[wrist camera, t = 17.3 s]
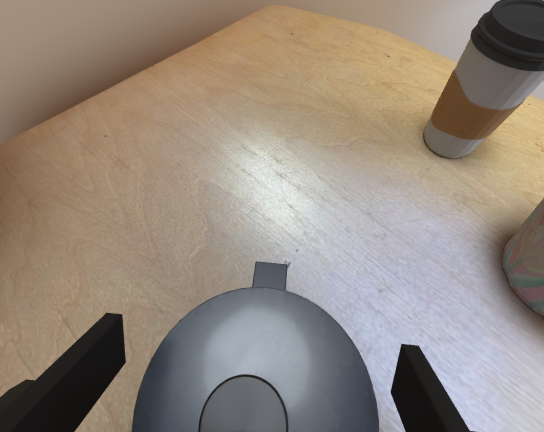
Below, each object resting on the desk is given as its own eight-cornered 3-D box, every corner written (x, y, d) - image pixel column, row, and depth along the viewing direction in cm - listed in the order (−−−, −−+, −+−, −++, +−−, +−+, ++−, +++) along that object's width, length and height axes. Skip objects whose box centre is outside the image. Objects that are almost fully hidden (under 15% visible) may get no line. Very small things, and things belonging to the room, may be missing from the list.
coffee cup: (489, 166, 36) (610, 46, 23) (422, 165, 37) (505, 44, 24) (469, 119, 41) (562, -5, 28) (408, 118, 41) (473, -7, 28)
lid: (102, 553, 14) (-136, 791, 6) (174, 282, 21) (110, 215, 13) (383, 593, 14) (557, 924, 5) (365, 301, 20) (431, 244, 12)
